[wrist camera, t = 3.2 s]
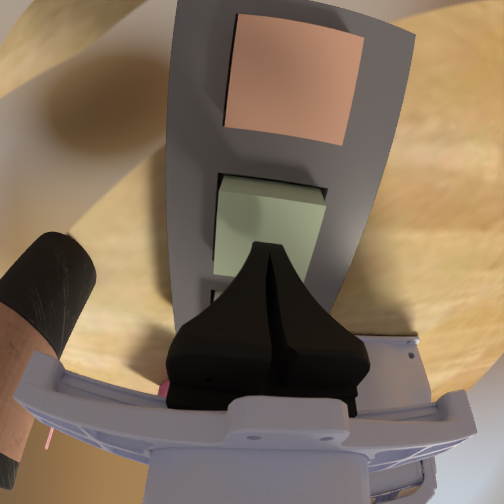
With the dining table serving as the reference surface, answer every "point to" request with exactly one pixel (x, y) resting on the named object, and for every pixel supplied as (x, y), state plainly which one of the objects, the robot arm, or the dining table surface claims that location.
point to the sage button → (266, 221)
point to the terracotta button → (292, 78)
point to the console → (271, 143)
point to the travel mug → (36, 327)
